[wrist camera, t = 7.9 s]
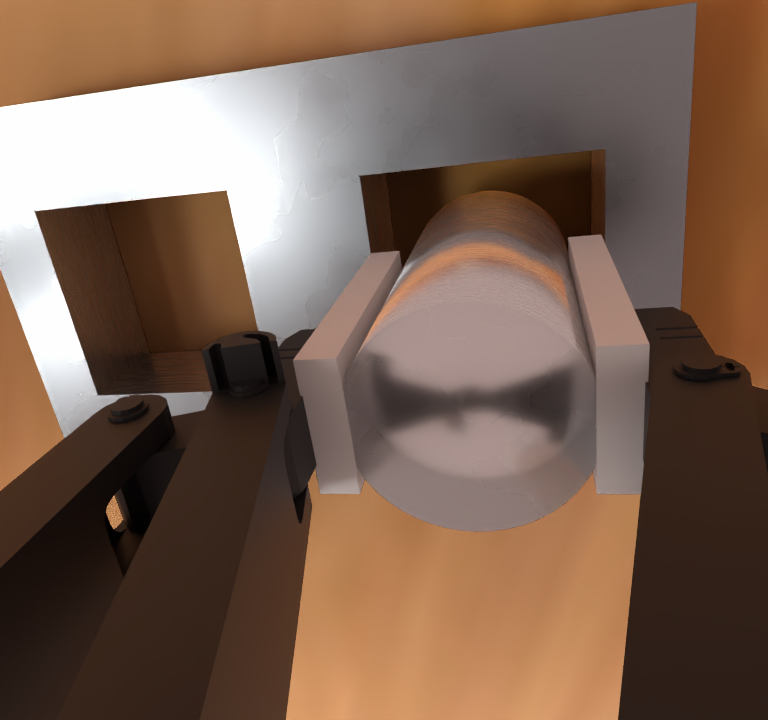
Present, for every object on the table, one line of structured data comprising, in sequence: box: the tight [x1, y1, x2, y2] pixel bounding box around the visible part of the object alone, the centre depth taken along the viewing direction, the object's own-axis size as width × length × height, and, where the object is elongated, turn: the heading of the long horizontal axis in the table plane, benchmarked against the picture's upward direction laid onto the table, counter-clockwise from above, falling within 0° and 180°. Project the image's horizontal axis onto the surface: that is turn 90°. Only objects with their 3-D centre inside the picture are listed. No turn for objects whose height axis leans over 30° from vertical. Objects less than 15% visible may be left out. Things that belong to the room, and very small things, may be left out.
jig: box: [0, 2, 697, 438], centre depth 21 cm, size 20×12×4 cm, turn 98°
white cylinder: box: [343, 190, 596, 532], centre depth 15 cm, size 4×4×9 cm
